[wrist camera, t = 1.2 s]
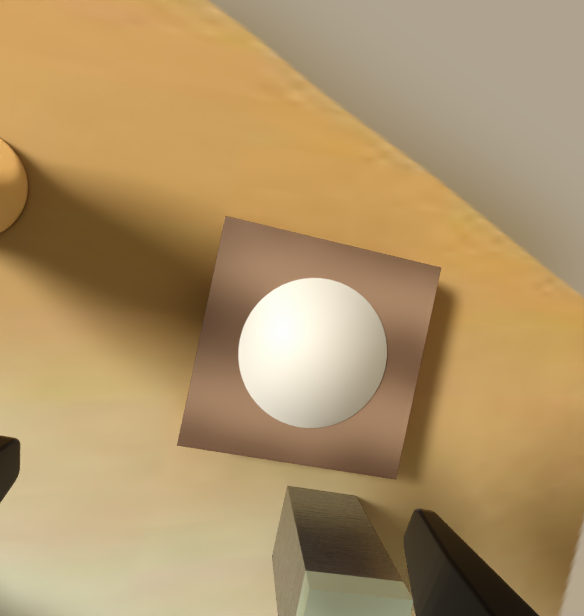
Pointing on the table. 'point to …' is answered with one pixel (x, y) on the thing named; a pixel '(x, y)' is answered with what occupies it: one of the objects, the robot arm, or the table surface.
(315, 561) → the metal column
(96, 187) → the table surface
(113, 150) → the table surface
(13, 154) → the beer glass
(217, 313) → the walnut step
